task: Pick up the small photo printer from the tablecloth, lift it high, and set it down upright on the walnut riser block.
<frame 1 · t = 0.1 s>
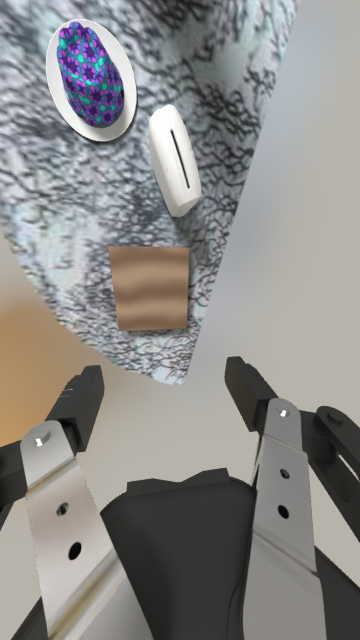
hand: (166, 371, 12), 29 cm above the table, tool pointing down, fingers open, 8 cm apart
walnut riser: (152, 287, 38), on the table
pudding: (95, 91, 27), on the table
photo printer: (170, 185, 32), on the table
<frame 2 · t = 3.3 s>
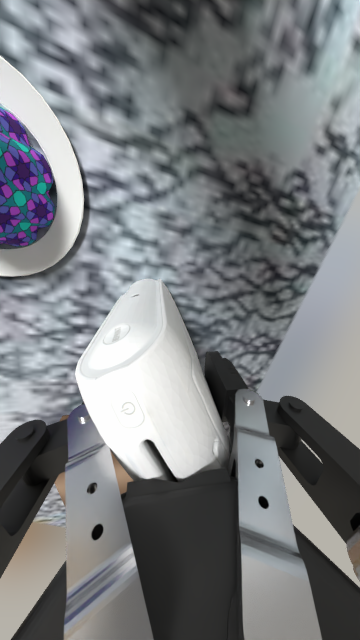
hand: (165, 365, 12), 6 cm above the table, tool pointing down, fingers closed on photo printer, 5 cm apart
walnut riser: (134, 453, 24), on the table
photo printer: (162, 328, 17), on the table, touching gripper
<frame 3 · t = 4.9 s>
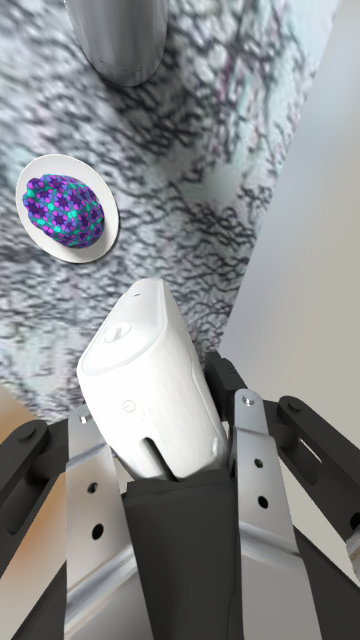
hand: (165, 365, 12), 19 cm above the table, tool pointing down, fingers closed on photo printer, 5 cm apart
pudding: (72, 215, 24), on the table
photo printer: (163, 327, 17), point 13 cm above the table, touching gripper
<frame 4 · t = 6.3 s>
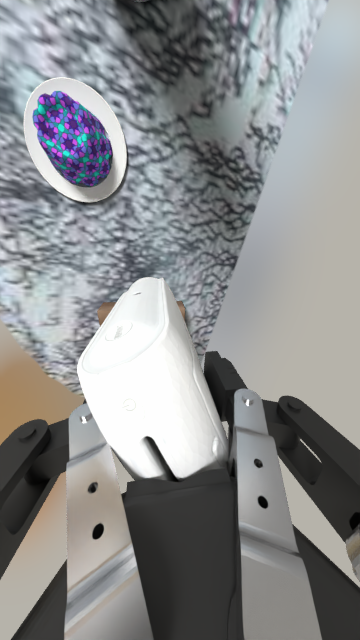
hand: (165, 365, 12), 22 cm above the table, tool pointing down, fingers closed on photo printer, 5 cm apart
walnut riser: (145, 339, 36), on the table
pudding: (80, 149, 24), on the table
photo printer: (163, 327, 17), point 16 cm above the table, touching gripper
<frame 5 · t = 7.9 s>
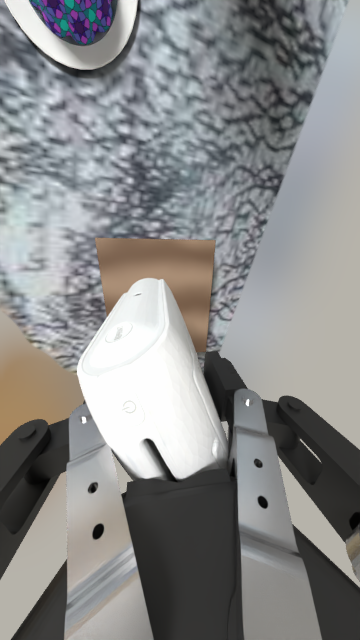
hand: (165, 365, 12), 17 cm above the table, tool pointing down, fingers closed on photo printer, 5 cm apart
walnut riser: (158, 296, 28), on the table
photo printer: (163, 327, 17), point 12 cm above the table, touching gripper
when the fingers open (11 cm above the table, at t = 9.5 s): photo printer drops 1 cm, resting on walnut riser.
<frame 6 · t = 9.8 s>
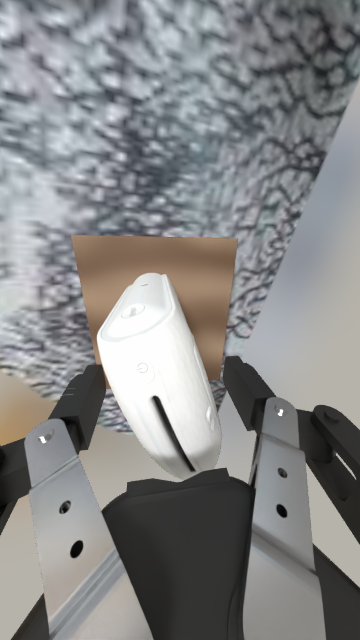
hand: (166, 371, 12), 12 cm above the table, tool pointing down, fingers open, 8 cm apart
walnut riser: (160, 309, 22), on the table
photo printer: (162, 320, 19), point 4 cm above the table, touching walnut riser
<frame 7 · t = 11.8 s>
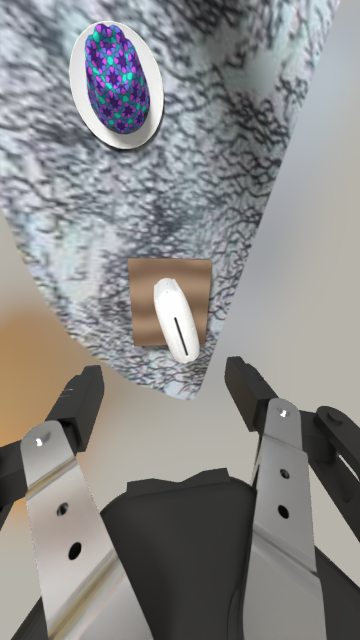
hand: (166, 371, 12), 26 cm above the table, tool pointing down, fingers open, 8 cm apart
walnut riser: (169, 300, 37), on the table
pudding: (119, 96, 25), on the table
photo printer: (171, 304, 33), point 4 cm above the table, touching walnut riser
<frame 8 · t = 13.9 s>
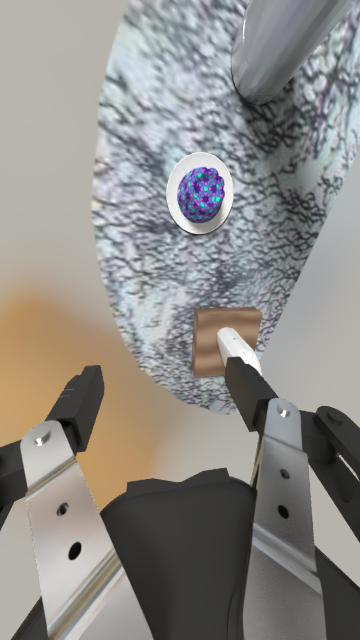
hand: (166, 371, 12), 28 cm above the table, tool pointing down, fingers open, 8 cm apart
walnut riser: (220, 338, 45), on the table
pudding: (199, 197, 33), on the table
photo printer: (227, 345, 41), point 4 cm above the table, touching walnut riser
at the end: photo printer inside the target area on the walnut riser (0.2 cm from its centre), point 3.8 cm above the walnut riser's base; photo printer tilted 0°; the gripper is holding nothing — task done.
